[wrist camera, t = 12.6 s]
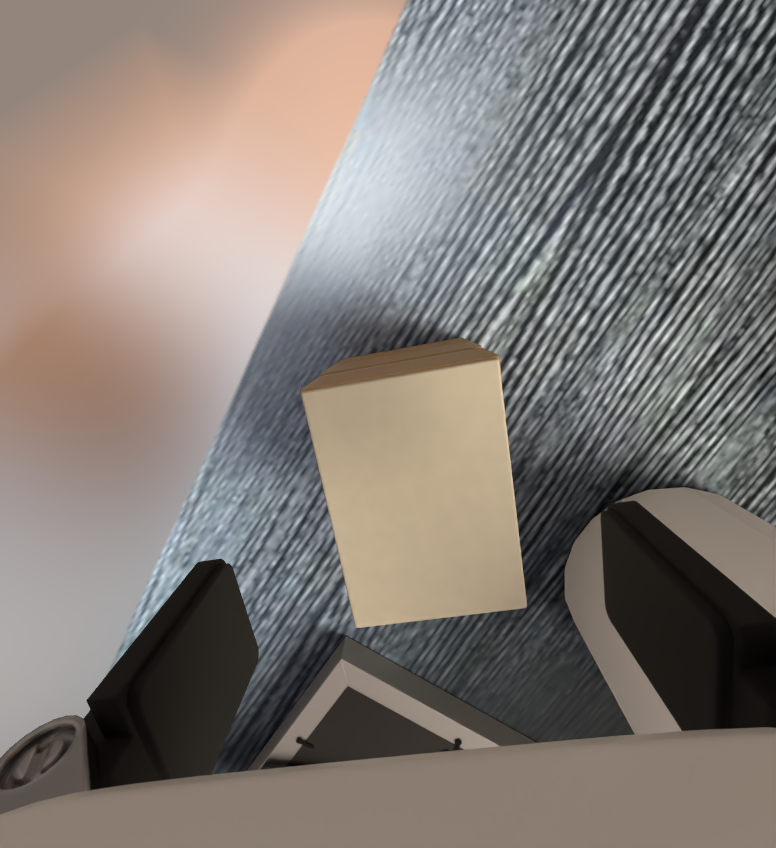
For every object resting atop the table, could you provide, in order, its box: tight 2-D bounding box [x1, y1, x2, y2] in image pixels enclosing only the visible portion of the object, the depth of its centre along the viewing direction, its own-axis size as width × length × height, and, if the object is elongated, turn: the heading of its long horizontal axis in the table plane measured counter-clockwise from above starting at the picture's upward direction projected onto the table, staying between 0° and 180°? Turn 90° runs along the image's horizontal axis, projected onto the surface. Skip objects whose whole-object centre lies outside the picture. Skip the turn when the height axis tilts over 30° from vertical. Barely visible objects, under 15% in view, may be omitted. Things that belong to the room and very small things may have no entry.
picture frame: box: [247, 636, 537, 771], centre depth 31 cm, size 16×3×21 cm
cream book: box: [300, 348, 527, 628], centre depth 17 cm, size 10×7×4 cm
